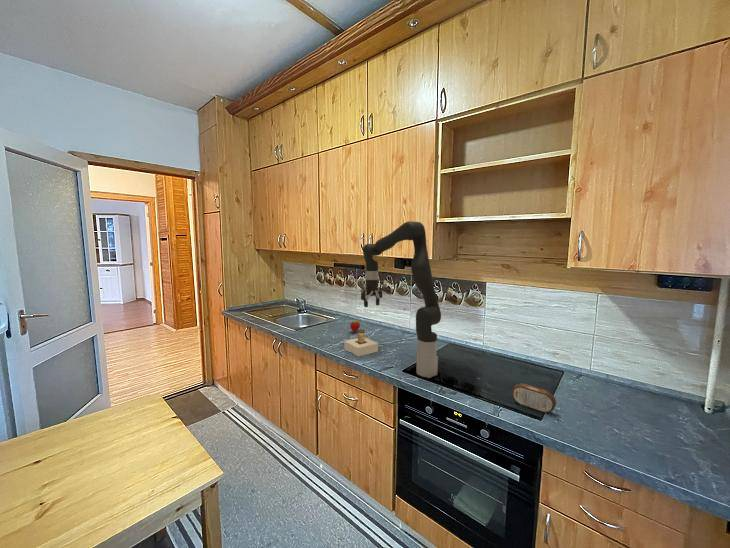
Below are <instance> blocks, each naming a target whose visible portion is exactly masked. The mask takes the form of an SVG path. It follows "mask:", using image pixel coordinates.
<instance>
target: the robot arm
mask: <svg viewBox="0 0 730 548" xmlns="http://www.w3.org/2000/svg"><path fill="white" fill-rule="evenodd" d="M426 234H427V233H426V229H425V225H424V224H423V223H422V222H419V221H411V220H409V221H406V222H403V224H401V225H399V227H397V228H396V229H395V230H393V231H392V232H390V233H389V234H387V235H385V236H384V237H381V238H379V239H377V240H376V242H375V243H366V244H365V245H364V246H363V248H362V253H363V257H364V258H363V259H364V262H365V283H364V285H365V289H363V288H361V291H360V300H361V301H362V300H363V306H364V308H368V307H369V306H368V305H369V303H368V302H369V299H370V298H371V297H375V306H380V299H381V298H382V299H383V287H380V286H379V261H378V260H375V259H374V258H373V257H377V256H380V255H381V254H382V253H384V252H385V251H388V250H390V249H392V248H393V247H395V245H396V244H397V243H399V242H402V241H412V242H413V247H414V252H413V253H414V255H413V257H412V260H411V266H410V268H411V269H410V271H411V275H412V280H413V283H414V285H415V286H416V288H417V289H418V290H419V292H420V293H421V296H422V297H423V301H424V306H423V307H419V308H418V309H417V311H416V312H415V333H416V336H417V339H416V341H417V342H416V345H417V347H416V375H418V376H420V377H423V378H427V379H430V378H432V377H436V376H438V365H439V356H438V355H437V346H438V343H437V342H438V335H437V333H436V332H434V331H432V326H433V325H437V324H439V323H440V321H441V319H442V312H441V307H440V306H439V305H440V304H439V301H438V298H437V295H436V289H435V286H434V282H433V274H432V268H431V265H430V264H431V263H430V260H429V253H428V246H427V236H426Z"/></svg>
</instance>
